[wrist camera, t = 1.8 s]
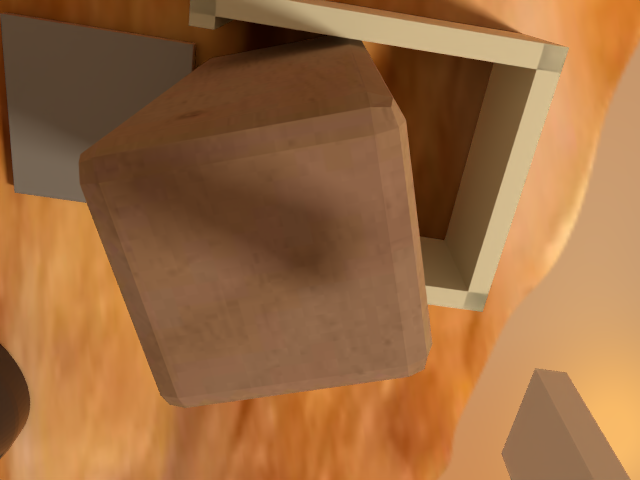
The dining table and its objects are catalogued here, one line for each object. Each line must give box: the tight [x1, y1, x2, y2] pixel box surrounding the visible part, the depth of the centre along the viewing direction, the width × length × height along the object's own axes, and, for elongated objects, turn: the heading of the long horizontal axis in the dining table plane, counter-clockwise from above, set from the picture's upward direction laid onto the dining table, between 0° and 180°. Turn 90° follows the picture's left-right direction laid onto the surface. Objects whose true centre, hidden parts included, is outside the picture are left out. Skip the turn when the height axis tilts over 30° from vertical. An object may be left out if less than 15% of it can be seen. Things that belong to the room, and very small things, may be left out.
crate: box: [189, 0, 569, 312], centre depth 33 cm, size 18×15×7 cm
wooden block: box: [79, 35, 432, 408], centre depth 27 cm, size 10×10×20 cm
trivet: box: [0, 13, 196, 203], centre depth 35 cm, size 11×11×1 cm
